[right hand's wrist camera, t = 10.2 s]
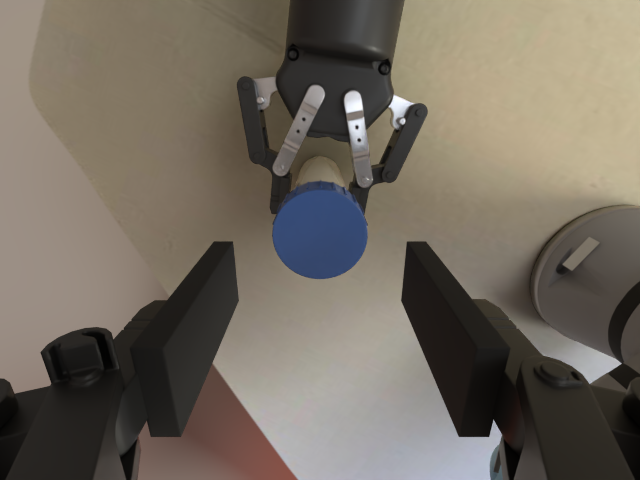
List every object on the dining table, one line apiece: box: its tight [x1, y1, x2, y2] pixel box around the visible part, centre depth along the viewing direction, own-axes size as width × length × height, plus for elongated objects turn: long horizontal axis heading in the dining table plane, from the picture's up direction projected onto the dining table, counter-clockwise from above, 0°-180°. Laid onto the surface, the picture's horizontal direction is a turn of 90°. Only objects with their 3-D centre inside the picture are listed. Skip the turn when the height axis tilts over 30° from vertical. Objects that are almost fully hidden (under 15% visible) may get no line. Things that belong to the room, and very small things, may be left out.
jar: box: [294, 156, 346, 189], centre depth 26 cm, size 4×4×16 cm
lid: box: [272, 180, 368, 279], centre depth 19 cm, size 5×5×2 cm
